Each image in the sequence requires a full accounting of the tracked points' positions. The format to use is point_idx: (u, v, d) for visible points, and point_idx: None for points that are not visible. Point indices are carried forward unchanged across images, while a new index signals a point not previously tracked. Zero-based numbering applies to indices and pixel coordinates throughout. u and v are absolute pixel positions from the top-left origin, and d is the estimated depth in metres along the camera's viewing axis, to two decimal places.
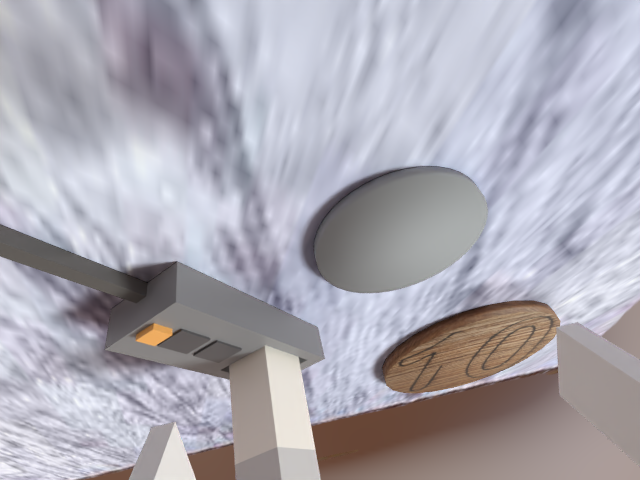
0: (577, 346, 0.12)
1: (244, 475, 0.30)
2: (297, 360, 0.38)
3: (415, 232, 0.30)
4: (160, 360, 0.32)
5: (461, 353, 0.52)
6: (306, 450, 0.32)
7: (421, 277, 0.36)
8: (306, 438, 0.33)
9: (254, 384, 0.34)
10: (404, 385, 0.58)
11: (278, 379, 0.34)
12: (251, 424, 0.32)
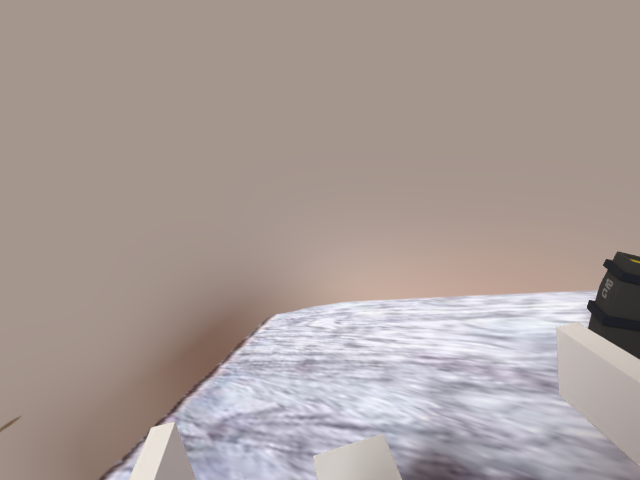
0: (577, 346, 0.12)
1: None
2: None
3: None
4: None
5: None
6: None
7: None
8: None
9: None
10: None
11: None
12: None
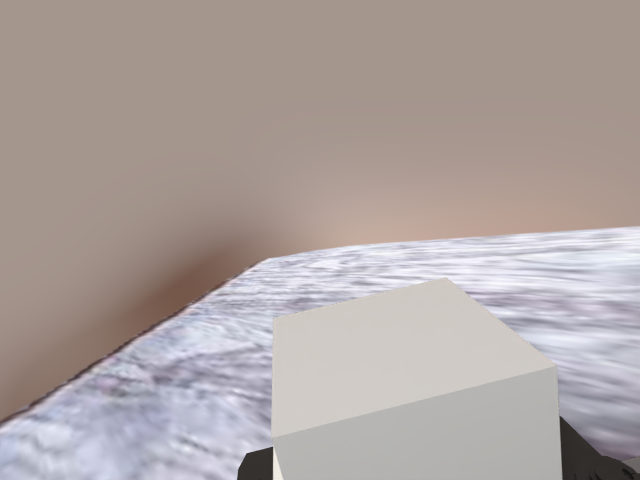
0: None
1: None
2: None
3: None
4: None
5: None
6: None
7: None
8: None
9: None
10: None
11: None
12: None
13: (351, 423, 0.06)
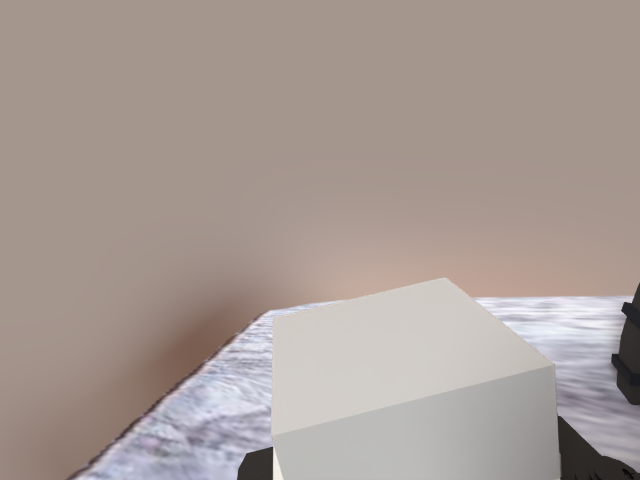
0: None
1: None
2: None
3: None
4: None
5: None
6: None
7: None
8: None
9: None
10: None
11: None
12: None
13: (350, 421, 0.07)
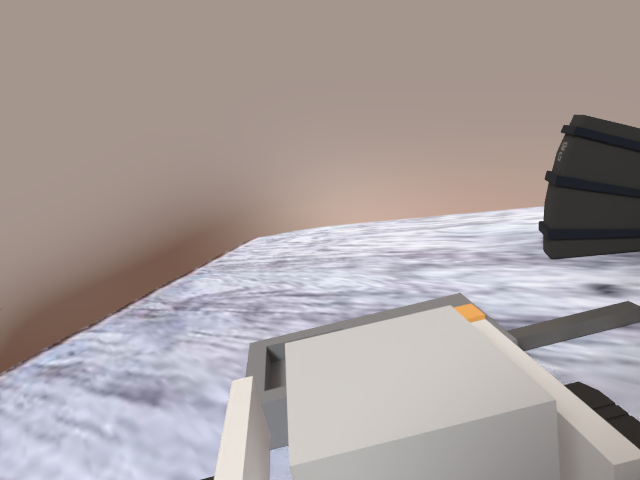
0: None
1: None
2: None
3: None
4: (409, 307, 0.32)
5: None
6: None
7: None
8: None
9: None
10: None
11: None
12: None
13: (364, 453, 0.07)
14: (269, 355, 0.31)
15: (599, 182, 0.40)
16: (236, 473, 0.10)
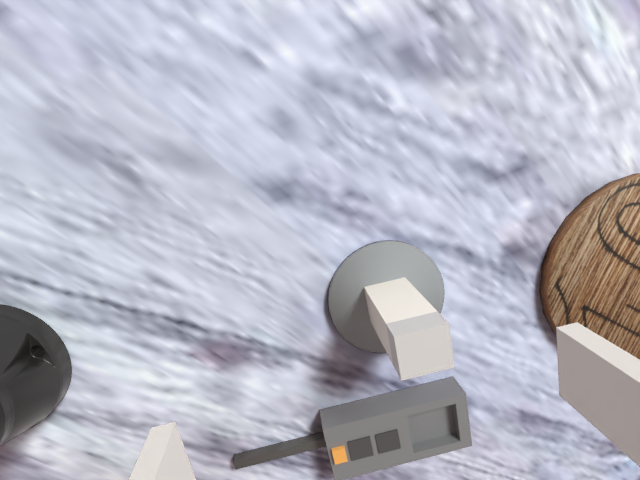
0: (577, 346, 0.12)
1: (395, 362, 0.36)
2: (407, 282, 0.44)
3: None
4: (369, 469, 0.49)
5: (616, 282, 0.48)
6: (424, 314, 0.36)
7: (439, 295, 0.47)
8: (423, 310, 0.37)
9: (374, 314, 0.42)
10: (637, 348, 0.51)
11: (384, 297, 0.41)
12: (383, 334, 0.39)
13: (433, 326, 0.34)
14: (457, 436, 0.50)
15: None
16: None
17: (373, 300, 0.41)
